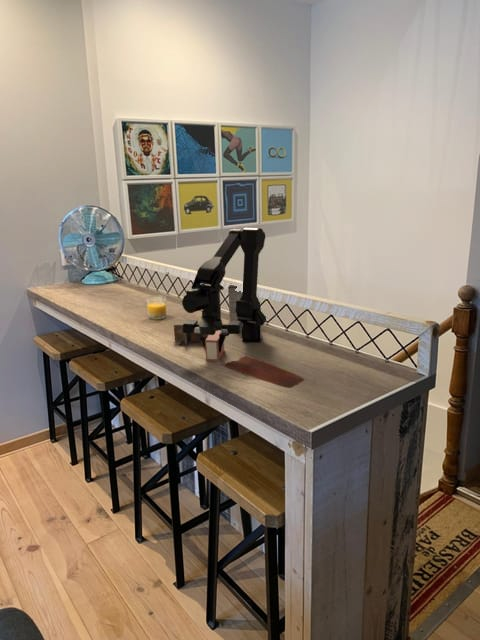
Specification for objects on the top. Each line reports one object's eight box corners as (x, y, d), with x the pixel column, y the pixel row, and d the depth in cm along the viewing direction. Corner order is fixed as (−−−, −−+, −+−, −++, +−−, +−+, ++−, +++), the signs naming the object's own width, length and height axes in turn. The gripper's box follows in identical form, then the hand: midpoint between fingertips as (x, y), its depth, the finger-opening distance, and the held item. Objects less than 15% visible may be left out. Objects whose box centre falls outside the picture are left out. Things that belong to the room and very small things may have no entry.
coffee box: (234, 319, 202) (232, 281, 198) (249, 320, 201) (248, 281, 196) (229, 326, 193) (227, 286, 189) (245, 326, 192) (244, 286, 188)
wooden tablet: (222, 367, 154) (222, 362, 153) (245, 358, 160) (245, 353, 160) (286, 391, 135) (286, 386, 135) (309, 380, 142) (309, 375, 141)
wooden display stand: (218, 340, 177) (218, 324, 175) (214, 346, 171) (214, 330, 169) (176, 339, 180) (174, 323, 178) (170, 345, 173) (169, 329, 172)
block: (224, 350, 167) (223, 330, 165) (218, 361, 157) (217, 340, 155) (212, 350, 168) (211, 330, 166) (206, 360, 158) (205, 340, 156)
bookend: (191, 340, 178) (190, 327, 176) (187, 345, 172) (186, 332, 171) (183, 340, 178) (182, 327, 177) (179, 345, 173) (178, 331, 172)
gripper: (175, 312, 149) (178, 360, 153) (236, 313, 146) (237, 362, 150) (185, 302, 160) (188, 348, 164) (242, 303, 156) (243, 349, 161)
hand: (213, 352), depth 160 cm, fingers closed on block, 4 cm apart
